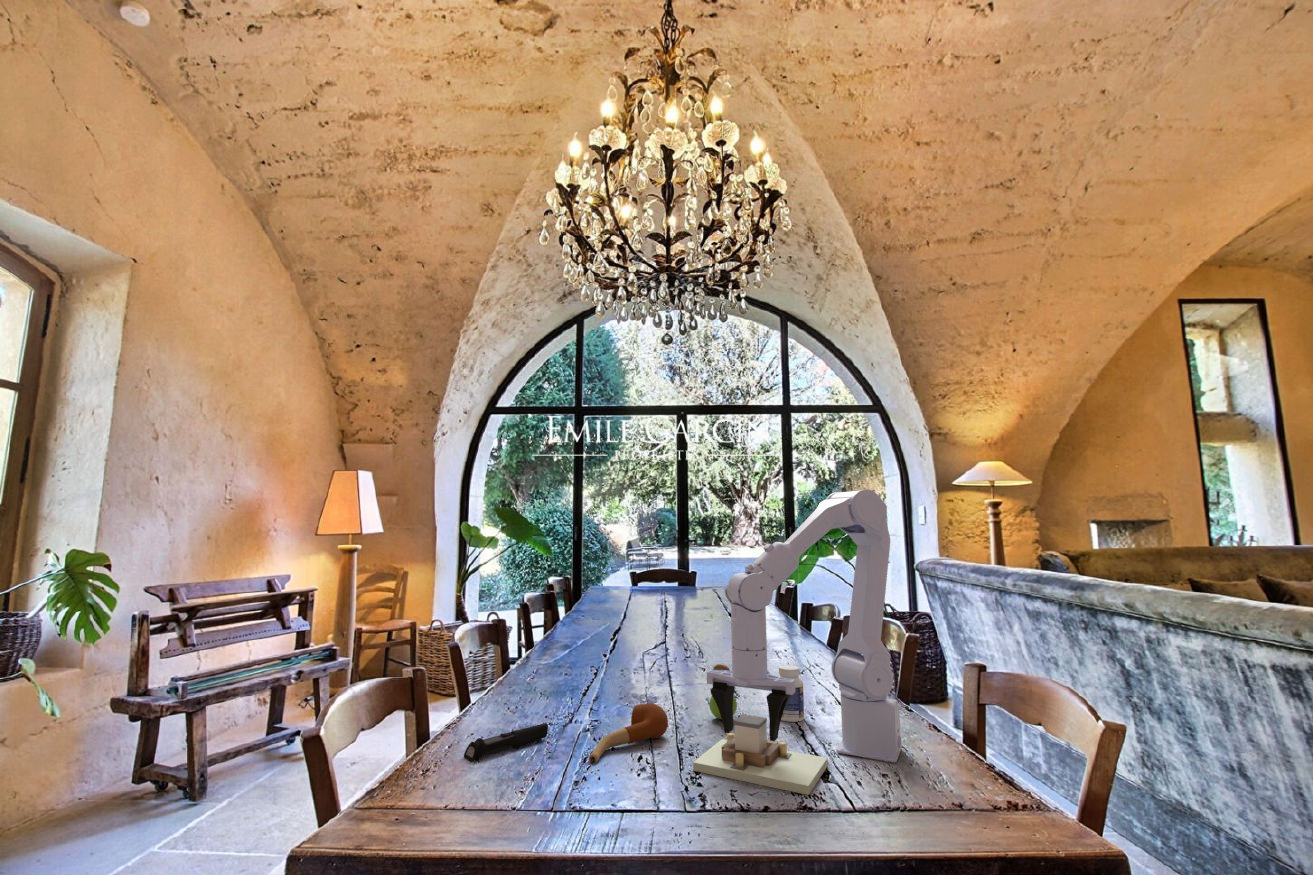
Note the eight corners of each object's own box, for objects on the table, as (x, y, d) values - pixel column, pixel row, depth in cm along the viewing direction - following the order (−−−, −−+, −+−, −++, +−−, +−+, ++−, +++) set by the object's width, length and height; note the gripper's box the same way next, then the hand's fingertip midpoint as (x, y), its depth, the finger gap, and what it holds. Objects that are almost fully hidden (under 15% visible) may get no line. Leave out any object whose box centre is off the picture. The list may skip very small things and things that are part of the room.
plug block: (767, 753, 98) (766, 717, 99) (759, 762, 94) (758, 725, 95) (743, 749, 100) (742, 714, 101) (734, 757, 96) (734, 721, 97)
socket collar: (782, 752, 99) (782, 742, 99) (767, 769, 92) (766, 758, 92) (736, 743, 102) (736, 734, 102) (718, 759, 95) (718, 749, 96)
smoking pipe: (675, 736, 110) (675, 703, 111) (617, 771, 94) (618, 731, 95) (641, 729, 114) (642, 697, 114) (581, 762, 98) (582, 724, 99)
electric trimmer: (552, 743, 107) (553, 724, 108) (472, 765, 97) (474, 744, 97) (540, 738, 110) (541, 720, 110) (462, 758, 99) (463, 738, 100)
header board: (827, 766, 96) (827, 745, 96) (808, 795, 86) (807, 772, 86) (722, 746, 104) (722, 727, 105) (693, 770, 94) (693, 750, 94)
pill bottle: (807, 723, 117) (805, 670, 119) (779, 722, 117) (777, 670, 119) (801, 714, 123) (799, 664, 124) (774, 714, 123) (773, 664, 124)
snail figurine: (732, 726, 115) (731, 660, 117) (704, 719, 119) (703, 656, 121) (746, 719, 119) (745, 656, 121) (718, 713, 123) (718, 652, 125)
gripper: (698, 647, 99) (699, 735, 97) (785, 656, 93) (788, 751, 91) (715, 640, 105) (716, 722, 103) (797, 648, 99) (800, 736, 97)
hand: (750, 735), depth 97 cm, fingers open, 7 cm apart
